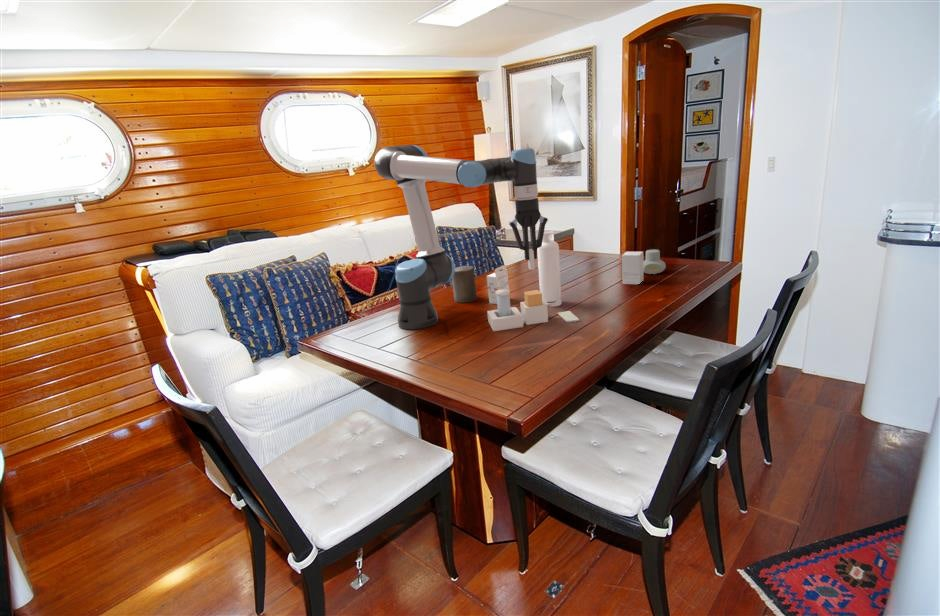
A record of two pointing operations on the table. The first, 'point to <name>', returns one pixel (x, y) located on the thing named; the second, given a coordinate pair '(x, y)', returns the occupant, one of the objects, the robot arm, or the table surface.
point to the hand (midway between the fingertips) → (531, 268)
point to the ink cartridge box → (497, 283)
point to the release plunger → (533, 298)
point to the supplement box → (632, 267)
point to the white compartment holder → (518, 317)
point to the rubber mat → (568, 316)
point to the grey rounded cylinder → (503, 302)
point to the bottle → (549, 270)
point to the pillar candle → (464, 284)
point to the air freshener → (653, 262)
